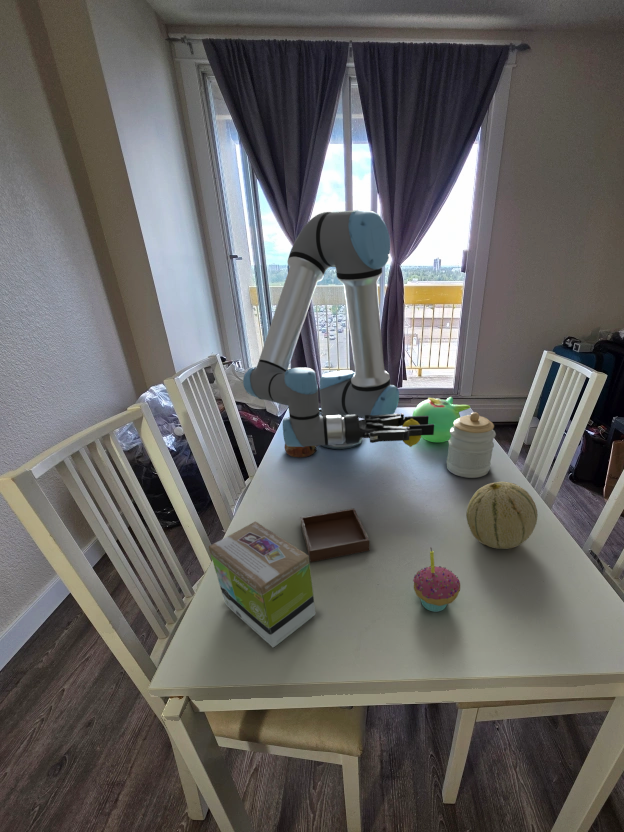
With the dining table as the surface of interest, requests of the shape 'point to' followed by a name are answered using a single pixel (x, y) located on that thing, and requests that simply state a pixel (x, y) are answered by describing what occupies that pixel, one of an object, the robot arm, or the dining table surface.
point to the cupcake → (436, 586)
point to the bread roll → (300, 451)
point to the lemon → (412, 439)
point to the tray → (334, 534)
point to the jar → (470, 446)
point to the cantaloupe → (501, 515)
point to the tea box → (264, 581)
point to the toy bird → (439, 417)
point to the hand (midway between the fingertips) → (430, 424)
